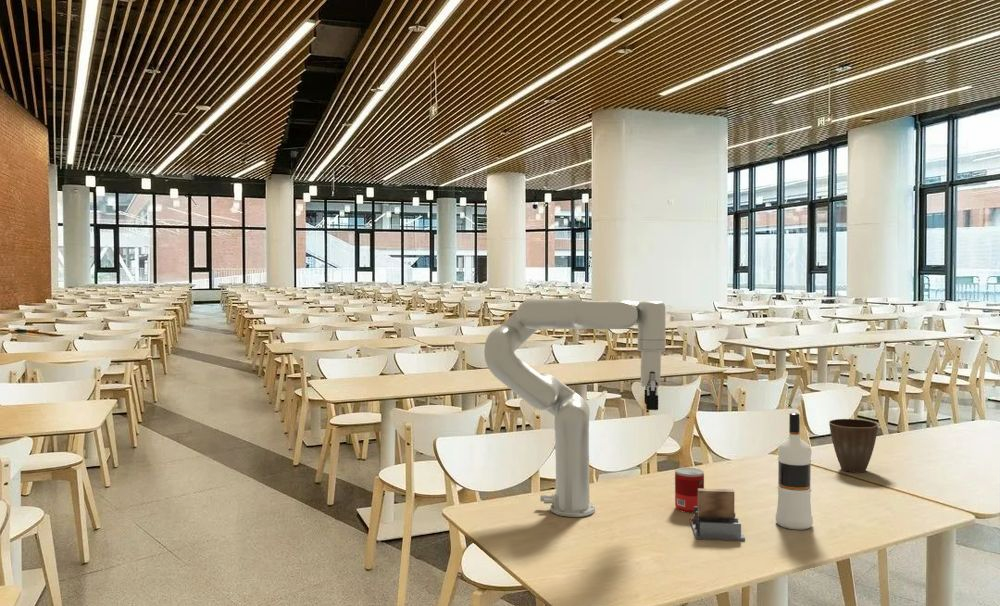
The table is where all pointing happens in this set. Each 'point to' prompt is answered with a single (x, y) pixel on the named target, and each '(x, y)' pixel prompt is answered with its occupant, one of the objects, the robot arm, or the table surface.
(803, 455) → the vodka
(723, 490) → the board
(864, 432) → the plant pot
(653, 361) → the robot arm
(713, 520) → the rack
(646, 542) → the table surface
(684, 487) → the canned food
